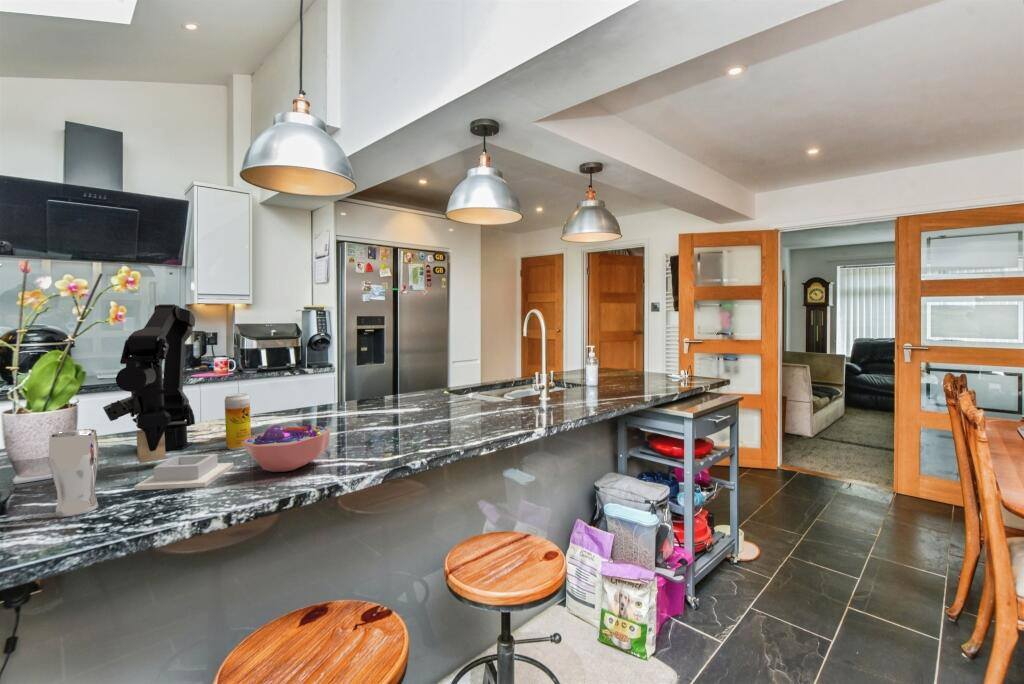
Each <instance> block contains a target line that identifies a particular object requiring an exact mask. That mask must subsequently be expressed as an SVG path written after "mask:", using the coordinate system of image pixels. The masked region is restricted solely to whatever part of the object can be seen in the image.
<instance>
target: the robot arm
mask: <svg viewBox="0 0 1024 684" xmlns="http://www.w3.org/2000/svg"><path fill="white" fill-rule="evenodd" d="M195 323H196V317H195V315H194V314H193V312H192V311H190V310H189V309H188V310H187V309H186V308H182V307H180V306H179V305H176V304H173V303H172V304H167V303H165V304H158V305H156V304H155V306H154V311H153V312H152V314H151V316H150V318H149V319H148V321H147V323H146V324H145V325H144V326H143V328H140V329H138V330H135V331H133V332H132V333H131V334H130V335H129V336H128V337H127V339H126V340H125V341H124V345H123V349H122V352H121V356H120V357H121V358H120V361H119V362H120V363H119V364H120V365H125V367H123V368H121V369H120V370H119V371H118V372H117V374H116V376H115V383H116V385H117V386H118V388H120V389H121V390H122V391H125V392H130V393H131V396H129V397H126V398H124V399H120V400H116V401H113V402H110V403H109V404H107V405H105V406H103V407H102V409H103V410H104V413H105V415H106V416H107V418H108V420H109V421H110V422H113V421H116V420H118V419H119V418H121V417H123V416H126V415H128V414H129V415H130V418H132V422H134V423H135V426H136V428H137V429H139V430H143V431H144V432H145V436H146V440H147V443H148V447H149V450H150V451H155V450H156V448H157V446H158V444H159V441H160V439H161V437H162V435H163V433H165V451H172V450H173V451H174V450H176V451H177V450H182V449H183V450H184V449H185V448H187V447H189V446H191V445H193V444H194V441H188V427H190V426H193V425H196V421H195V420H196V419H195V414H194V411H193V409H192V407H191V404H190V399H189V398H188V396H187V395H186V394H185V393H184V389H183V388H184V369H185V353H186V351H185V350H186V349H185V348H186V342H187V340H188V339H189V338H191V336H192V335H193V329H194V328H195V326H196V324H195ZM163 362H164V363H163ZM163 364H164V366H163ZM134 417H135V418H134Z"/></svg>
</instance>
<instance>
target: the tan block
mask: <svg viewBox="0 0 1024 684" xmlns="http://www.w3.org/2000/svg"><path fill="white" fill-rule="evenodd" d="M136 450H137V451H136V453H137V460H138V462H139V464H144V463H150V462H157V461H162V460H166V458H167V457H166V450H165V433H163V435H162V437H161V439H160V441H159V444H158V446H157V448H156V450H155V451H150V450H149V447H148V443H147V440H146V436H145V432H144V431H143V430H141V429H139V430H136Z"/></svg>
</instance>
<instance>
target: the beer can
mask: <svg viewBox="0 0 1024 684" xmlns="http://www.w3.org/2000/svg"><path fill="white" fill-rule="evenodd" d="M250 401H251V398H250V397H249V393H246V392H245V393H232V394H227V395H226V396H225V398H224V416H225V418H224V419H225V421H224V422H225V446H226V447H227V449H228V450H229V451H240V450H244V449H245V447H244V446H243V444H242V441H243V440H245V439H246V438H248V437H251V436H252V432H251V431H252V430H251V428H252V427H251V402H250ZM245 450H246V449H245Z"/></svg>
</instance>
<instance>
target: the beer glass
mask: <svg viewBox="0 0 1024 684" xmlns="http://www.w3.org/2000/svg"><path fill="white" fill-rule="evenodd" d="M97 434H98V433H97V429H94V428H93V429H92V428H87V429H86V428H82V429H80V428H79V429H73V430H72V429H71V430H65V431H60V432H56V433H52V434H50V435H49V436H48V437H49V442H48V443H49V444H48V460H49V461H48V463H49V468H50V473H51V476H52V479H53V482H54V487H55V488H56V494H57V502H56V506H55V507H56V508H55V516H56V517H60V518H68V517H70V518H71V517H75V516H81V515H85V514H87V513H90V512H92V511H95V510H97V509H98V508H99V505H100V504H99V502H98V498H97V495H96V479H97V473H98V467H99V462H100V461H99V460H100V459H99V458H100V448H99V442H98V441H99V440H98V435H97Z"/></svg>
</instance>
